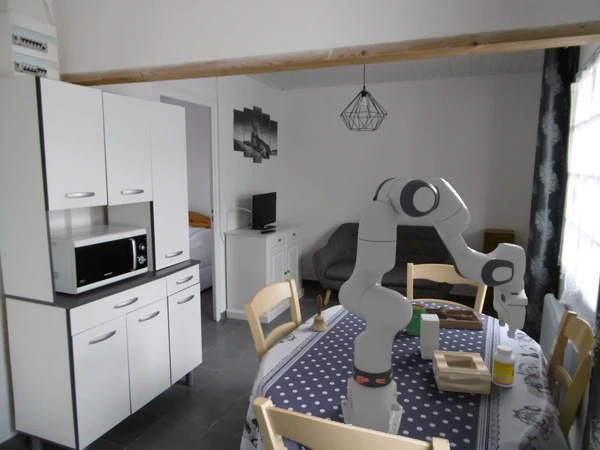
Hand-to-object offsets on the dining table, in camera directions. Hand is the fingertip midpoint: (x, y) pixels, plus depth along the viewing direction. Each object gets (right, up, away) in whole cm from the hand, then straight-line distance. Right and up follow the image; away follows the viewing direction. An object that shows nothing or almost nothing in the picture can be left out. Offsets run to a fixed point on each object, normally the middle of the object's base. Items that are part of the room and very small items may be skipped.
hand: (506, 331), depth 139 cm
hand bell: (-61, -12, +51) cm, 80 cm away
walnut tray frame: (+2, -10, +58) cm, 59 cm away
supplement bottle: (0, -19, +3) cm, 19 cm away
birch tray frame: (-14, -18, +5) cm, 24 cm away
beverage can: (-18, -12, +46) cm, 51 cm away
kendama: (+2, -11, +59) cm, 60 cm away
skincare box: (-19, -16, +24) cm, 34 cm away
